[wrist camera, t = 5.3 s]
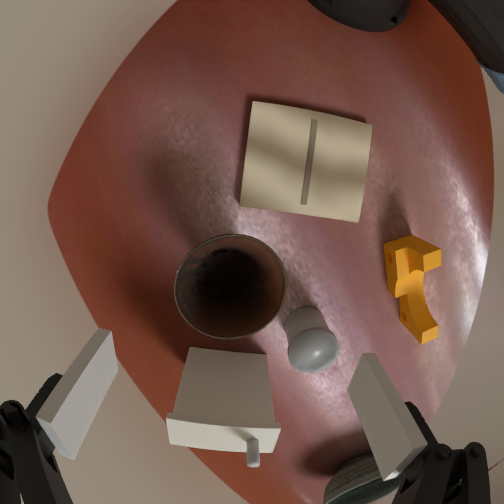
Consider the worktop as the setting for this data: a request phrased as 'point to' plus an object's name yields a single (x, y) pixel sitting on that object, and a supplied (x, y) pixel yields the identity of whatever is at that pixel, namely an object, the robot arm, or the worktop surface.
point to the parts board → (305, 162)
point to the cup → (230, 286)
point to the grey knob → (310, 340)
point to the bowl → (359, 483)
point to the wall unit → (225, 404)
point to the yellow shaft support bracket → (412, 282)
